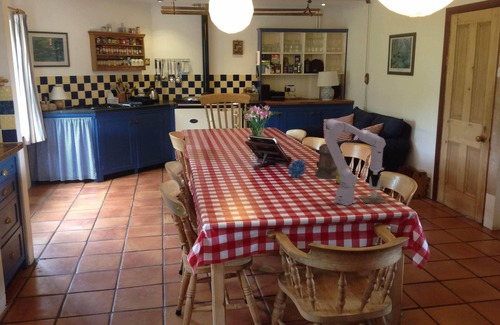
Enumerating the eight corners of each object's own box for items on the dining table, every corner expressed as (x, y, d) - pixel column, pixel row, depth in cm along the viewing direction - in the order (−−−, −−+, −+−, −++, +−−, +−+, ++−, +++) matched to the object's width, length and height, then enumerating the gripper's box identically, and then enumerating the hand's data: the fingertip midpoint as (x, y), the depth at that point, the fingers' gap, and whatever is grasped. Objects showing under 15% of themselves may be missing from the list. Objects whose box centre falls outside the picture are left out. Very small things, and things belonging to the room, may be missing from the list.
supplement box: (335, 183, 272) (336, 165, 269) (344, 182, 274) (345, 164, 272) (340, 185, 266) (341, 167, 264) (349, 184, 269) (350, 166, 266)
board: (388, 203, 234) (389, 196, 233) (365, 204, 233) (366, 196, 232) (380, 196, 245) (381, 189, 244) (358, 197, 244) (359, 189, 244)
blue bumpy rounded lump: (304, 175, 288) (305, 157, 285) (307, 178, 281) (307, 159, 279) (286, 176, 286) (286, 157, 284) (288, 179, 280) (289, 160, 277)
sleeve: (380, 189, 234) (380, 180, 233) (368, 188, 236) (369, 179, 234) (380, 186, 239) (380, 177, 238) (369, 185, 241) (369, 176, 240)
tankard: (346, 178, 283) (347, 146, 278) (321, 180, 278) (322, 148, 274) (329, 169, 305) (330, 140, 300) (306, 171, 300) (307, 141, 296)
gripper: (384, 163, 226) (382, 189, 229) (384, 157, 240) (382, 182, 243) (369, 162, 228) (368, 188, 231) (370, 156, 242) (369, 180, 245)
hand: (374, 184), depth 237 cm, fingers closed on sleeve, 6 cm apart
